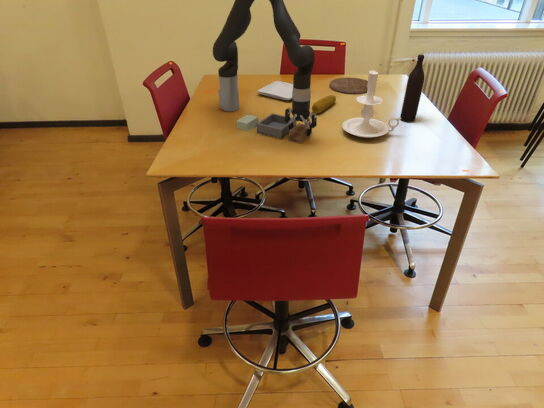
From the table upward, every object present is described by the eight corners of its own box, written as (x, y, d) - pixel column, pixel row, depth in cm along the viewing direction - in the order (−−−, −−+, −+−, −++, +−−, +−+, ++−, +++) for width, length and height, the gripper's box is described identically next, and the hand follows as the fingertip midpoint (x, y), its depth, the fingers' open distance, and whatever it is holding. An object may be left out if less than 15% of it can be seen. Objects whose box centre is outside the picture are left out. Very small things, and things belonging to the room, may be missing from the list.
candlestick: (398, 146, 162) (412, 80, 145) (340, 141, 166) (347, 76, 149) (396, 126, 178) (408, 65, 161) (342, 122, 182) (349, 62, 166)
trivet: (376, 95, 212) (376, 91, 211) (331, 95, 213) (332, 91, 212) (367, 80, 233) (368, 77, 232) (327, 80, 233) (327, 77, 232)
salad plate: (308, 92, 216) (308, 86, 214) (289, 104, 202) (289, 97, 200) (276, 85, 226) (276, 80, 224) (256, 96, 211) (256, 90, 209)
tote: (256, 132, 173) (256, 123, 170) (272, 121, 183) (272, 113, 180) (281, 139, 167) (281, 129, 165) (296, 127, 177) (296, 118, 175)
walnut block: (288, 141, 167) (289, 130, 164) (298, 133, 173) (298, 123, 170) (300, 144, 164) (301, 133, 161) (310, 136, 170) (310, 126, 167)
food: (319, 116, 188) (320, 104, 185) (309, 114, 191) (310, 102, 187) (337, 103, 202) (338, 92, 199) (328, 101, 205) (329, 90, 201)
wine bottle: (416, 118, 185) (430, 54, 168) (413, 123, 180) (428, 58, 162) (401, 115, 188) (414, 52, 170) (398, 121, 182) (411, 56, 165)
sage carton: (236, 128, 177) (236, 120, 175) (247, 122, 183) (247, 114, 181) (247, 131, 175) (247, 123, 172) (258, 124, 181) (258, 116, 178)
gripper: (281, 97, 158) (281, 133, 167) (312, 103, 152) (310, 140, 161) (290, 92, 163) (289, 127, 172) (320, 97, 157) (318, 133, 166)
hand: (300, 133), depth 167 cm, fingers open, 8 cm apart
